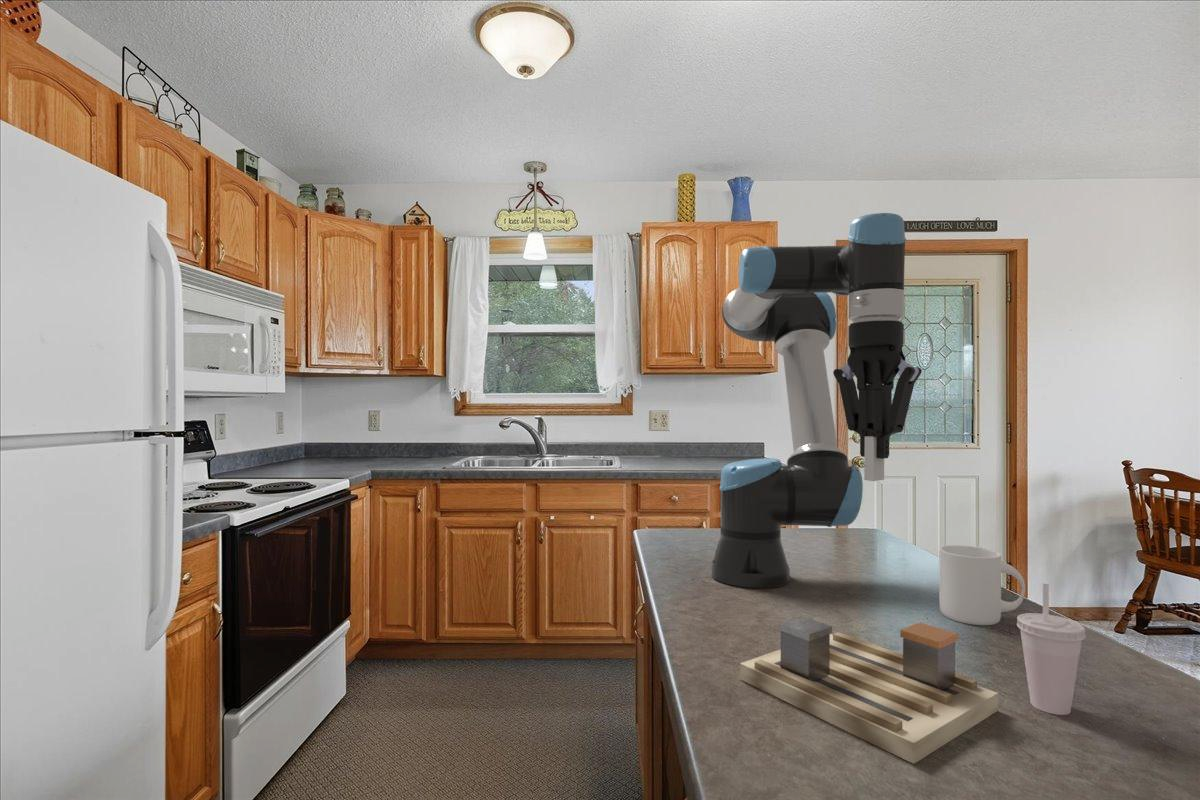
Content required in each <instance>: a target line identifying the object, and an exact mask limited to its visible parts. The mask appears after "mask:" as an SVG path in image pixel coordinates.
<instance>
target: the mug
mask: <svg viewBox="0 0 1200 800" xmlns="http://www.w3.org/2000/svg"><path fill="white" fill-rule="evenodd" d="M938 551H939V552H938V553H939V559H938V560H939V565H938V566H939V570H938V571H939V580H938V582H939V587H938V588H939V589H938V590H939V599H938V601H939V610H940V612H941V614H942V615H943V616H944V617H945V618H947V619H950V620H952V621H955V622H958V623H962V624H966V625H972V626H973V625H974V626H993V625H997V624H998V623H999V622H1000V621H1001V618H1002V613H1007V612H1012V611H1015V610H1016V609H1017V608H1019V606H1021V604H1022V603H1023V601H1024V598H1025V594H1026V593H1025V592H1026V582H1025V580H1024V577H1023V576H1022V574H1021V573H1020V572H1019V571H1018V570H1017V569H1016V568H1015V567H1014V566H1012V565H1011V564H1009V563H1007V562H1005V561H1003V560H1002V554H1001V553H1000V552H998V551H995V550H993V549H989V548H983V547H978V546H971V545H961V544H960V545H959V544H955V545H953V544H952V545H951V544H950V545H942V546H940V547H939V550H938ZM1002 574H1007V575H1010V576H1013V577H1014V578H1015V579H1016V580H1017V581H1018V582H1019V583H1020V586H1021V587H1020V588H1021V593H1020V596H1018V598H1017V599H1015V600H1014V601H1006V600H1004V599H1002Z"/></svg>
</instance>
